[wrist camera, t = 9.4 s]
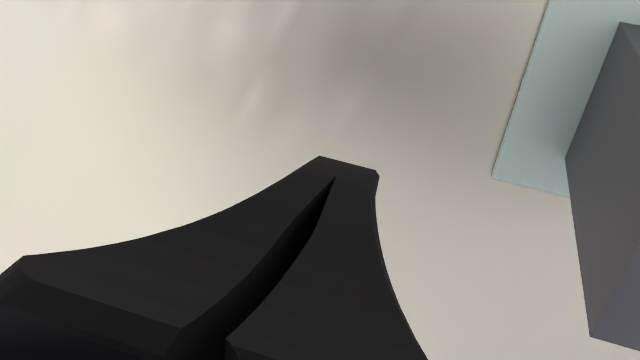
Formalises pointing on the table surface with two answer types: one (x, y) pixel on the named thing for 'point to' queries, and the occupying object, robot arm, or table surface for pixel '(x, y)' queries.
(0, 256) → the table surface
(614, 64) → the black domino
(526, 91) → the sage board
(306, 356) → the robot arm
